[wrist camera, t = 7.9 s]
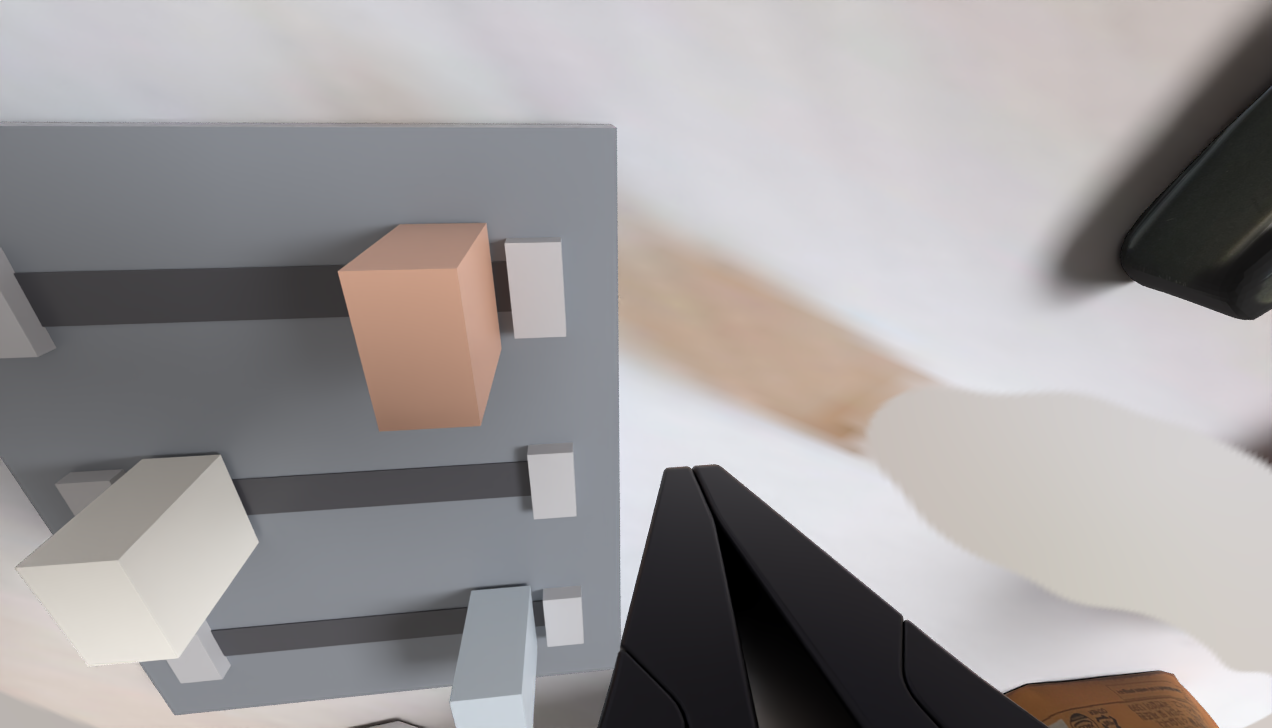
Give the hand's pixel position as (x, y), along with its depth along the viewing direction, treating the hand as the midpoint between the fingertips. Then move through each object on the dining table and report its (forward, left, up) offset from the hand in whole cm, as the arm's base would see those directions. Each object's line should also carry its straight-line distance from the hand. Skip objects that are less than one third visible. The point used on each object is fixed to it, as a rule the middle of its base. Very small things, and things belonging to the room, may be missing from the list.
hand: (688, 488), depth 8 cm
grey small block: (+5, +15, -9) cm, 18 cm away
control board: (+10, +7, -12) cm, 17 cm away
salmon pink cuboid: (+5, 0, -10) cm, 11 cm away
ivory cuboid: (+15, +7, -9) cm, 19 cm away
